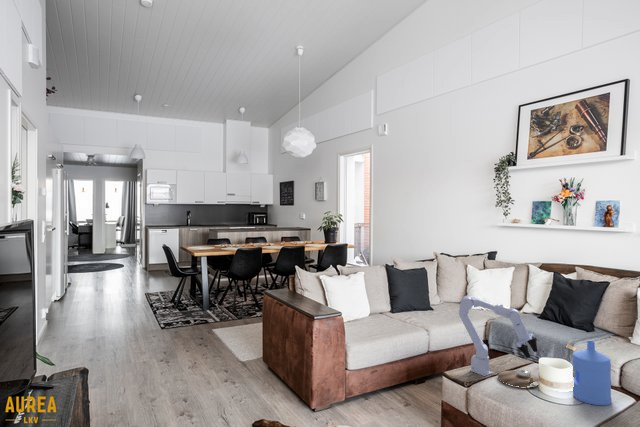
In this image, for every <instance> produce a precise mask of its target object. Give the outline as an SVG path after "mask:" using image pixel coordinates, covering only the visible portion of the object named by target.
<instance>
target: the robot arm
mask: <svg viewBox="0 0 640 427" xmlns="http://www.w3.org/2000/svg"><path fill="white" fill-rule="evenodd" d="M477 307H481V308H484V309H488V310H491V311H493V312H494V314H495V315H498V316H500V317H503V318H506V319H509V320H510V321H511V323H512V326H513V329H514V331H515V334H516V335H517V338H518V341H517V343H516V348H517V350H519V352H522V354H523V356H525V358H527V359H530V358H531V354H530V351H529V347H530V348H531V350H532V351H533V353H536V352H537V353H538V345H537V341H538V339H537V337H536V336H535V334H534V332H533V333H532V332H531V333H529V332H528V329H527V327H526V324H525V323H524V321H523V318H522V317H521V314H520V311H518V309H516V308H512V307H507V306H505V305H504V304H502V303H498V304H496V305H495V304H494V303H491V302H487V301H485V300H483V299H481V298H478V297H475V296H471V295H469V294H468V295H464V296H463V297H462V299H461V301H460V304H459V309H458V315H459V318H460V320H461V322H462V324H463V325H464V327H465V330H466V332H467V333H468V335H469V337H470V339H471V341H472V344H473V346H474V349H475V354H473V355H472V356H471V358H470V368H471V369H470V372H472V373H475V374H477V375H480V376H483V377H486V376H489V375H491V374H494V373H493V371H490V356H489V348H488V345H487V344H485V343H484V341H483V340H482V338H481V337H480V335H479V333H478V330H477V328H476V327H475V325H474V323H473V321H472V319H471V316H470V315H469V312H470V310H471V309H472V308H477ZM526 343H528V345H529V346H528V345H527V344H526Z"/></svg>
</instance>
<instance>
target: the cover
mask: <svg viewBox="0 0 640 427" xmlns="http://www.w3.org/2000/svg"><path fill="white" fill-rule="evenodd" d="M515 371H516V374H517V376H518V377H521V378H530V377H531V375H532V373H531V372H532V371H530V370H529V369H525V368H517V369H516V370H515Z"/></svg>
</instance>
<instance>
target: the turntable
mask: <svg viewBox="0 0 640 427" xmlns="http://www.w3.org/2000/svg"><path fill="white" fill-rule="evenodd" d="M497 378H499V379H498V381H500V380H501V381H502V382H504V383H507V384H510V385H513V386H519V387H527V386H530V384H531V383H533V382H535V381H538V380H539V378H538V377H536V376H535V375H533V374H531V377H530V378H521V377H518V376H517V374H516V370H503V371H500V372H499V373H498V374H497ZM501 381H500V382H501ZM502 382H501V383H502ZM504 383H503V384H504ZM513 386H512V387H513Z"/></svg>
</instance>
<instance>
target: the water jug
mask: <svg viewBox="0 0 640 427" xmlns="http://www.w3.org/2000/svg"><path fill="white" fill-rule="evenodd" d="M586 342H587V343H586V349H583V350H577V351H574V352H573V353H572V366H573V368H574V369H575V378H574V388H573V389H572V395H573V396H574V397H575V399H577V400H578V401H580V402H582V403H586V404H589V405H592V406H600V407H601V406H608V405H611V403H612V389H611V388H612V378H611V377H612V376H611V374H612V373H611V368H612V364H611V359H610V357H608V356H607V355H605V354H603V353H601V352H599V351H597V350H596V346H595V344H596V342H595V341H593V340H586Z"/></svg>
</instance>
